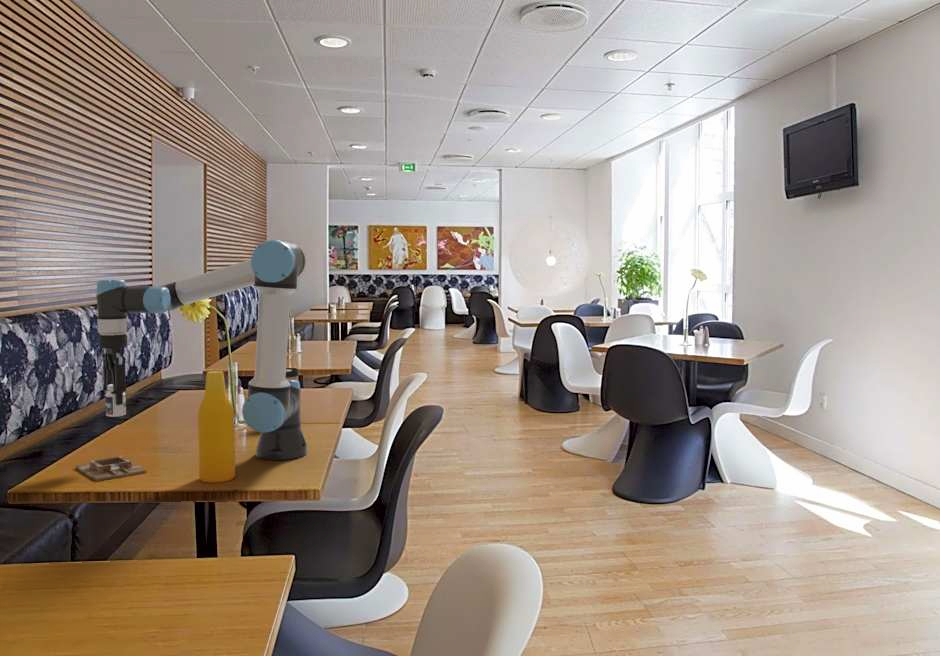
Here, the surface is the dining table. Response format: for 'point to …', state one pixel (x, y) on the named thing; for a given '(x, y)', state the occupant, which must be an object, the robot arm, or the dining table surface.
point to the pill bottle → (111, 401)
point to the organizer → (110, 468)
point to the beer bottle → (216, 432)
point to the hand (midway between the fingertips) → (115, 414)
